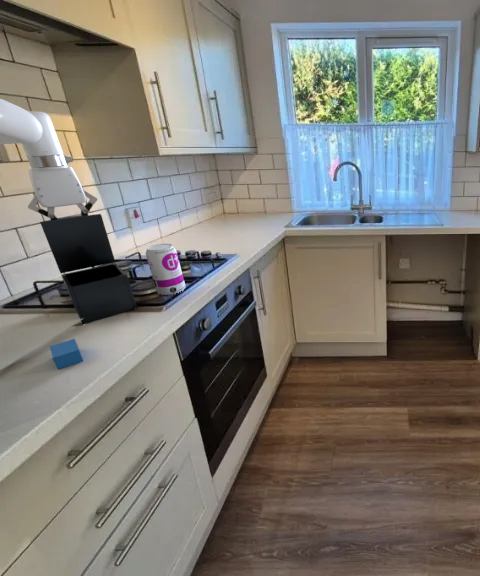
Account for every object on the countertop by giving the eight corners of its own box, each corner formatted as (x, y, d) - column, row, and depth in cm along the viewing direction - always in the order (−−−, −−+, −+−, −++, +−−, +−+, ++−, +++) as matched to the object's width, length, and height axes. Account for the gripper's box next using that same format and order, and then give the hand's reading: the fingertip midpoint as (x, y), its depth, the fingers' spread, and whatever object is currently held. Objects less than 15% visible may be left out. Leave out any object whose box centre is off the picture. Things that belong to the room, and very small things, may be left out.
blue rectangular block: (83, 360, 81) (78, 349, 80) (57, 369, 78) (52, 358, 77) (78, 349, 86) (74, 338, 85) (54, 357, 83) (49, 346, 82)
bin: (138, 308, 106) (126, 274, 101) (82, 324, 97) (67, 288, 93) (126, 294, 115) (115, 262, 111) (74, 308, 107) (60, 274, 102)
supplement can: (191, 288, 119) (180, 244, 113) (168, 298, 112) (155, 252, 106) (175, 284, 122) (163, 242, 116) (151, 294, 115) (138, 249, 109)
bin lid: (101, 214, 102) (96, 208, 105) (40, 222, 94) (37, 215, 97) (115, 262, 110) (110, 255, 113) (60, 273, 102) (57, 265, 105)
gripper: (85, 159, 104) (107, 221, 111) (3, 165, 93) (33, 233, 100) (90, 160, 99) (112, 225, 107) (4, 166, 88) (35, 238, 96)
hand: (74, 228), depth 103 cm, fingers closed on bin lid, 5 cm apart
